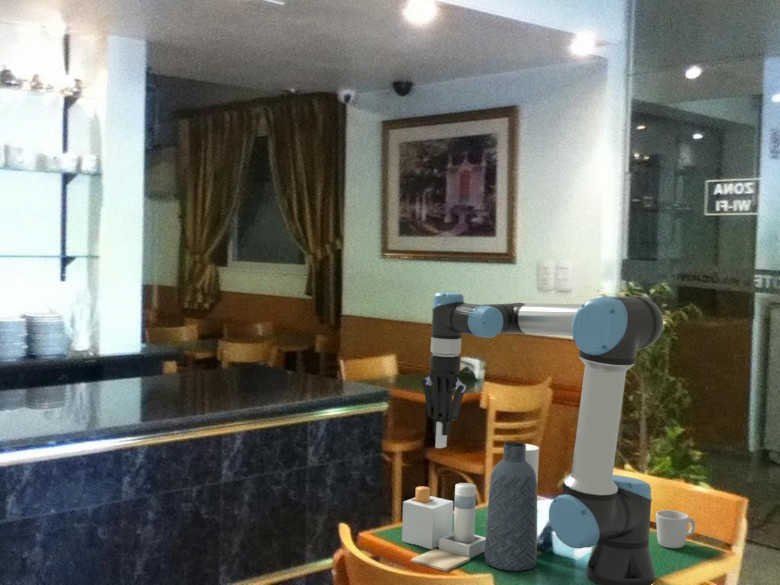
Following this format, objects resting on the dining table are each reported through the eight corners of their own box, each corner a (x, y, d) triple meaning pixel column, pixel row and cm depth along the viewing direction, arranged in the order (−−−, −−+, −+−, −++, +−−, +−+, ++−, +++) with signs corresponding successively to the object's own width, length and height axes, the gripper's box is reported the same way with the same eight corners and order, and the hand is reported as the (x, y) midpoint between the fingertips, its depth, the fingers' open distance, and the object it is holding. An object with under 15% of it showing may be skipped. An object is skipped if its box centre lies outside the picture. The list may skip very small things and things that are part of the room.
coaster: (469, 560, 224) (470, 558, 224) (446, 571, 216) (446, 569, 216) (434, 551, 230) (434, 548, 230) (410, 561, 222) (410, 559, 222)
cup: (683, 538, 246) (684, 508, 245) (703, 548, 238) (705, 517, 238) (648, 542, 242) (649, 511, 242) (667, 552, 235) (668, 520, 234)
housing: (488, 549, 232) (489, 509, 232) (468, 559, 225) (469, 517, 224) (422, 532, 244) (423, 494, 243) (401, 541, 237) (403, 501, 236)
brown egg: (432, 511, 238) (432, 488, 238) (423, 514, 236) (424, 491, 235) (420, 508, 241) (421, 485, 240) (412, 512, 238) (412, 488, 237)
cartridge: (477, 550, 232) (480, 485, 231) (466, 555, 228) (469, 489, 227) (460, 545, 235) (462, 481, 234) (448, 550, 231) (451, 485, 230)
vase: (521, 576, 215) (526, 452, 213) (474, 564, 222) (479, 444, 220) (545, 562, 225) (550, 444, 223) (499, 550, 232) (504, 436, 230)
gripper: (475, 356, 236) (470, 449, 238) (433, 349, 244) (428, 440, 246) (458, 359, 231) (453, 454, 232) (415, 352, 239) (411, 444, 240)
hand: (440, 447), depth 239 cm, fingers closed
